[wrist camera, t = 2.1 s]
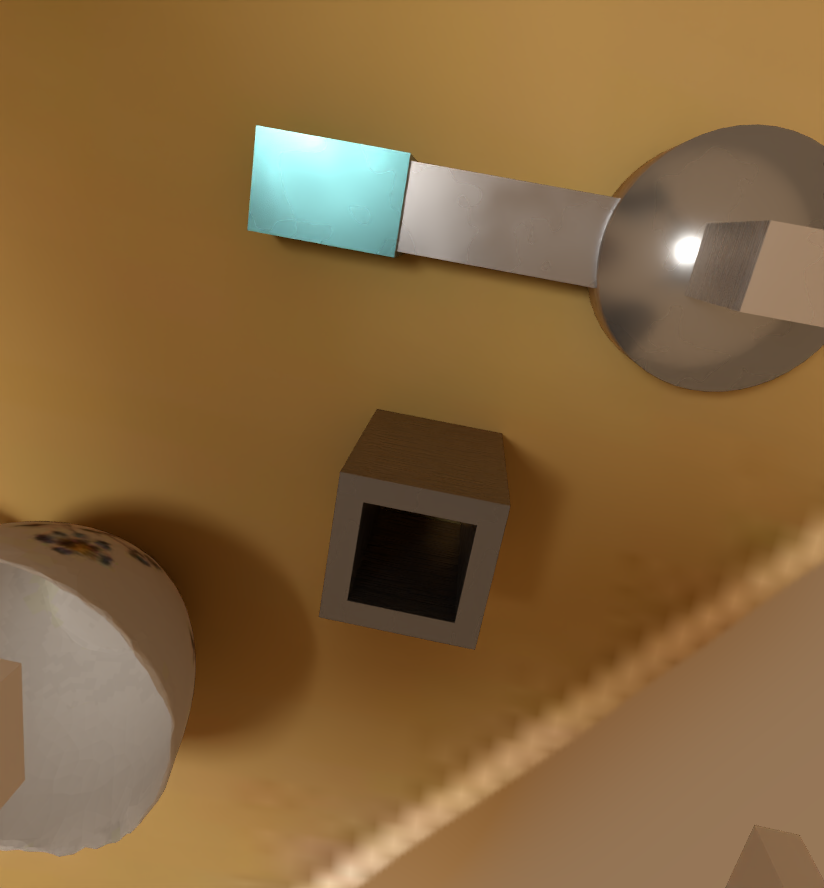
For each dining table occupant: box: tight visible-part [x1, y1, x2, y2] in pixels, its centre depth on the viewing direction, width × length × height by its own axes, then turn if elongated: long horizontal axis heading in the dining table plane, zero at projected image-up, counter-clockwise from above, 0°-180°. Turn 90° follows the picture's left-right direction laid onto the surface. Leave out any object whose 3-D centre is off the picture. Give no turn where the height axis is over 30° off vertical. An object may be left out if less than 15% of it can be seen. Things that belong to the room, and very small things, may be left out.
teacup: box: [0, 521, 196, 857], centre depth 25 cm, size 15×12×8 cm
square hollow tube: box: [319, 409, 510, 650], centre depth 22 cm, size 5×5×7 cm
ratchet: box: [248, 125, 824, 391], centre depth 19 cm, size 8×20×7 cm, turn 80°
